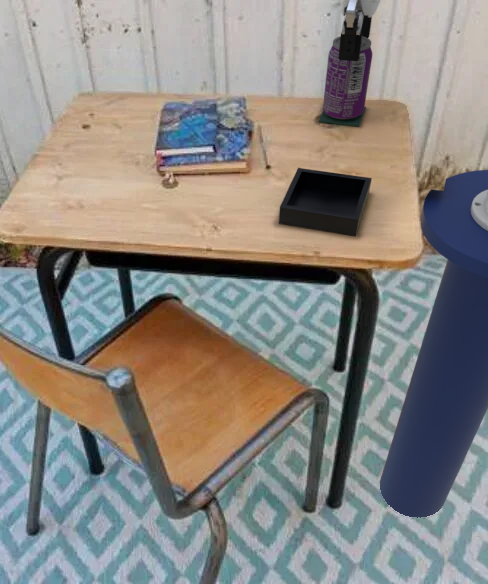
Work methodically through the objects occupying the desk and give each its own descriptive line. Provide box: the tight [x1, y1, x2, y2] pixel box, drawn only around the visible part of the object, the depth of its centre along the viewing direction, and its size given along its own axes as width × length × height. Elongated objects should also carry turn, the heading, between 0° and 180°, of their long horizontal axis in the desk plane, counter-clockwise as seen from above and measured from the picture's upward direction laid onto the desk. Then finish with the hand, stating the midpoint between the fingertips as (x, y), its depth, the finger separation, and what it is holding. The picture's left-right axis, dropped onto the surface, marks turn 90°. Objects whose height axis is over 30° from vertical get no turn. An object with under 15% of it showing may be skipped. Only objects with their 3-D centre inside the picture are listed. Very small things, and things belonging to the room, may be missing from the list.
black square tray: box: [278, 167, 373, 237], centre depth 94 cm, size 11×11×3 cm
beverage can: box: [322, 35, 373, 120], centre depth 109 cm, size 7×7×12 cm
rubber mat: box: [318, 106, 367, 128], centre depth 114 cm, size 7×7×1 cm
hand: (354, 48), depth 105 cm, fingers open, 9 cm apart
